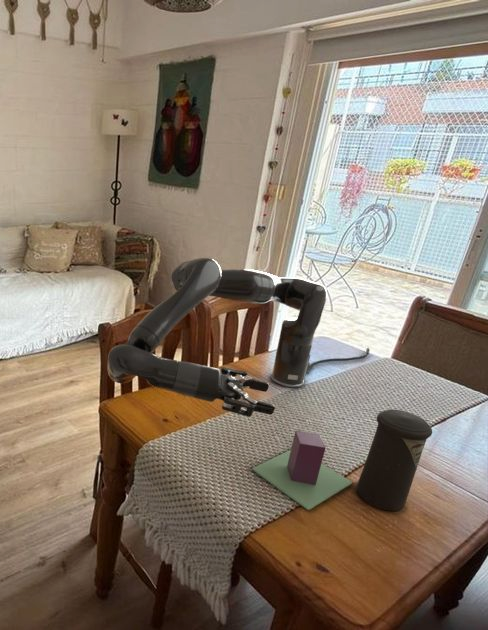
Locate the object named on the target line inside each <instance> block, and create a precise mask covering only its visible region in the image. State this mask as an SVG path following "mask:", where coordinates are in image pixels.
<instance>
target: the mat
mask: <svg viewBox="0 0 488 630" xmlns="http://www.w3.org/2000/svg"><path fill="white" fill-rule="evenodd" d="M290 452H291V449H289V450H287V451H285V452H283V453H281V454H279V455H276V456H274V457H272V458H270V459H268V460H266V461H264V462H262V463H260V464H258V465H256V466H253V467H252V468H251V471H252V472H254V473H255V474H257V475H258V476H260V478H261V479H264V480H265V481H266V482H268V483H269V484H271V485H272V486H273V487H275V488H276V489H277V490H279V491H280V492H281V493H283V494H284V495H286V496H287V497H289V498H290V499H291V500H292V501H294V502H296V503H297V504H298V505H300V506H301V507H302V508H304V509H305V510H306V511H310V510H311V509H313V508H315V507H317V506H318V505H320V504H321V503H323V502H325V501H327V500H328V499H330V498H332V497H333V496H335V495H337V494H338V493H340V492H342V491H343V490H345V489H347V488H348V487H350V486H351V485H353V482H352V481H351V480H349V479H348V478H346V477H345V476H343V475H341V474H340V473H338V472H336V471H335V470H333V469H332V468H329V467H328V466H326V465H325V464H323V462H322V463H321V467H320V471H319V474H318V478H317V482H316V485H312V484H307V483H302V482H296V481H291V478H290V474H289V471H288V467H287V465H288V460H289V456H290Z"/></svg>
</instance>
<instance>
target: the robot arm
mask: <svg viewBox="0 0 488 630" xmlns="http://www.w3.org/2000/svg"><path fill="white" fill-rule="evenodd" d="M170 280H171V284H172V286H173V288H174V289H175V290H176V291H175V292H174V293H173V294H171V296H169V297H168V298H166V299H165V300H163V301H162V302H161V303H159V304H157V306H155V307H153V309H151V310H149V312H148V313H147V314H145V316H144V317H143V318H141V320H140V321H139V322H138V323H137V324H136V326H134V328H133V329H132V330H131V332H130V334H129V337H128V339H127V341H126V342H125V344H118V345H115V346H113V347H112V348H111V349H110V351H109V352H108V356H107V369H106V370H107V373H108V376H109V378H110V379H111V381H113V382H115V383H117V384H127V383H130V382H131V381H133V380H134V379H135V378H136V377H138V378H140V379H143V380H146V382H147V383H148V385H150V386H151V387H153V388H156V389H159V390H160V389H161V390H164V391H168V392H173V393H175V394H178V395H181V396H185V397H190V398H193V399H197V400H201V401H206V402H210V403H212V402H215V400H216V399H217V400H221V401H223V402H222V405H221V409H222V410H223V411H226V412H230V413H232V414H233V413H234V414H236V415H241V416H244V417H248V418H250V417H252V415H253V413H254V412H257V413H261V414H266V415H273V414H274V412H275V410H276V406H275V404H273V403H270V402H265V401H261V400H255V399H254V398H252V397H250V396H249V394H248V392H247V391H245V390H244V389H247V388H248V389H251V390H255V391H258V392H263V393H266V392H268V390H269V387H270V384H269V382H267V381H264V380H259V379H254V378H252V377H251V376H250V375H248V374H249V373H248V372H247V371H245V370H240V369H236V368H235V369H234V368H230V367H224V366H222V367H221V368H220V369H219V368H216V367H212V366H208V365H203V364H198V363H195V362H190V361H181V360H176V359H171V358H166V357H161V356H159V355H157V354H154V352H155V350H156V349H157V348H158V347H159V346H160V345H161V344H162V342H163V341H164V340H165V339H166V337H168V335H169V334H170V333H171V332H172V331H173V329H174V328H175V327H177V325H178V324H179V323H180V321H182V320H183V319H185V317H187V315H188V314H190V312H192V311H193V310H194V309H195V308H196V307H197V306H198V305H199V304H201V302H203V301H204V300H205V299H206V298H208V297H216V298H220V299H224V300H228V301H234V302H240V303H243V304H253V305H263V304H267V303H269V302H275V303H279V304H281V305H284V306H286V307H289V308H292V309H294V310H297V311H299V312H298V315H297V317H288V318H285V319H283V321H282V323H281V327H280V332H279V333H280V334H279V338H278V343H277V347H276V352H275V358H274V363H273V368H272V373H271V375H270V378H271V380H272V381H273V382H274V383H276V384H278V385H281V386H283V387H287V388H301V387H302V386H303V385H304V383H305V382H306V381H305V380H306V377H307V374H309V373H310V371H311V369H312V368H313V367H314V366H316V365H318V364H321V363H328V362H345V361H353V360H354V361H355V360H361V359H365V358H367V357H368V356H369V354H370V351H371V350H370V348H369V347H366V349H365V353H364V354H363V355H360V356H353V357H338V358H337V357H336V358H326V359H319V360H316V361H313V362H310V359H311V351H312V347H313V342H314V338H315V335H316V331H317V329H318V327H319V325H320V322H321V319H322V315H323V312H324V309H325V305H326V302H327V298H328V297H327V296H328V292H327V288H326V286H325V285H323V284H320V283H318V282H314V281H311V280H308V279H304V278H299V277H280V276H279V277H278V276H276V275H273V274H270V273H267V272H265V271H264V272H263V271H259V270H254V269H247V268H246V269H245V268H243V269H242V268H241V269H240V268H235V269H232V268H231V269H230V268H229V269H221V266H220V264H218V262H217V261H216V260H214V259H213V258H210V257H200V258H194V259H190V260H186V261H184V262H181V263H179V264H178V265H177V266H175V268H174V269H172V273H171V276H170Z"/></svg>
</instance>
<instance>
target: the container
mask: <svg viewBox="0 0 488 630" xmlns="http://www.w3.org/2000/svg"><path fill="white" fill-rule="evenodd" d="M376 421H377V426H376V430H375V433H374V435H373V439H372V441H371V444H370V448H369V451H368V453H367V456H366V459H365V462H364V464H363V468H362V471H361V473H360V476H359V479H358V482H357V484H356V492H357V494H358V495H359V496H360V497H361V499H362V500H364V501H365V502H366V503H368V504H370V505H371V506H373V507H376V508H377V509H381V510H384V511H389V512H399V511H401V510H403V509H404V507H405V505H406V503H407V499H408V496H409V493H410V490H411V487H412V485H413V483H414V482H413V481H414V478H415V475H416V472H417V469H418V467H419V463H420V460H421V458H422V454H423V451H424V448H425V445H426V442H427V439H429V438H430V437H431V436H432V434H433V429H432V426H430V424H429V423H428V422H427V421H426V420H425V419H423V418H422V417H420V416H418V415H416V414H413V413H411V412H409V411H405V410H400V409H386V410H382V411H380V412H378V413H377V415H376Z"/></svg>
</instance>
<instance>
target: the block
mask: <svg viewBox="0 0 488 630" xmlns="http://www.w3.org/2000/svg"><path fill="white" fill-rule="evenodd" d="M290 450H291V452H290V456H289V460H288V465H287V467H288V471H289V474H290V478H291V481H296V482H302V483H307V484H312V485H316V482H317V478H318V474H319V471H320V467H321V463H322V464H323V459H324V455H325V452H326V445H325V443H324V441H323V438H322V436H321V434H320V433H314V432H308V431H301V430H295V431H294V436H293V439H292V444H291V448H290Z"/></svg>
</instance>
